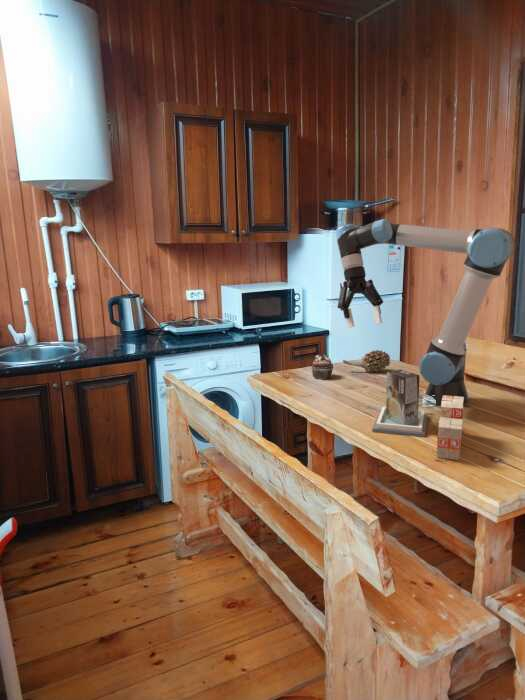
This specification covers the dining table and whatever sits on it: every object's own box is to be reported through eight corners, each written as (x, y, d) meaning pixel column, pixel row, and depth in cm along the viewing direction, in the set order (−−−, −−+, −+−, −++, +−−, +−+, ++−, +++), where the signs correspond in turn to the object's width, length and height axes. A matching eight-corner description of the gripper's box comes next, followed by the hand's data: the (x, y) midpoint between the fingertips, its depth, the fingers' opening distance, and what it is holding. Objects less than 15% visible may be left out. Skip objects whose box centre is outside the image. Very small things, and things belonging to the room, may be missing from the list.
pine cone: (386, 368, 244) (387, 347, 242) (393, 373, 235) (393, 352, 233) (339, 370, 243) (340, 349, 241) (344, 375, 234) (344, 354, 231)
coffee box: (419, 422, 171) (421, 374, 168) (404, 426, 168) (406, 377, 165) (399, 414, 179) (400, 368, 175) (384, 418, 176) (386, 371, 172)
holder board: (427, 416, 180) (427, 409, 179) (424, 436, 162) (425, 429, 162) (379, 412, 185) (379, 405, 184) (372, 431, 167) (372, 424, 167)
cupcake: (308, 375, 235) (308, 353, 233) (328, 373, 238) (328, 352, 236) (315, 381, 226) (315, 358, 224) (336, 379, 229) (336, 356, 226)
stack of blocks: (460, 461, 145) (462, 418, 142) (436, 458, 147) (438, 416, 145) (461, 433, 164) (464, 396, 162) (440, 431, 167) (442, 394, 164)
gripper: (371, 269, 200) (382, 324, 198) (320, 272, 186) (332, 330, 185) (385, 264, 193) (397, 320, 192) (333, 266, 180) (346, 326, 179)
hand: (365, 325), depth 188 cm, fingers open, 13 cm apart
